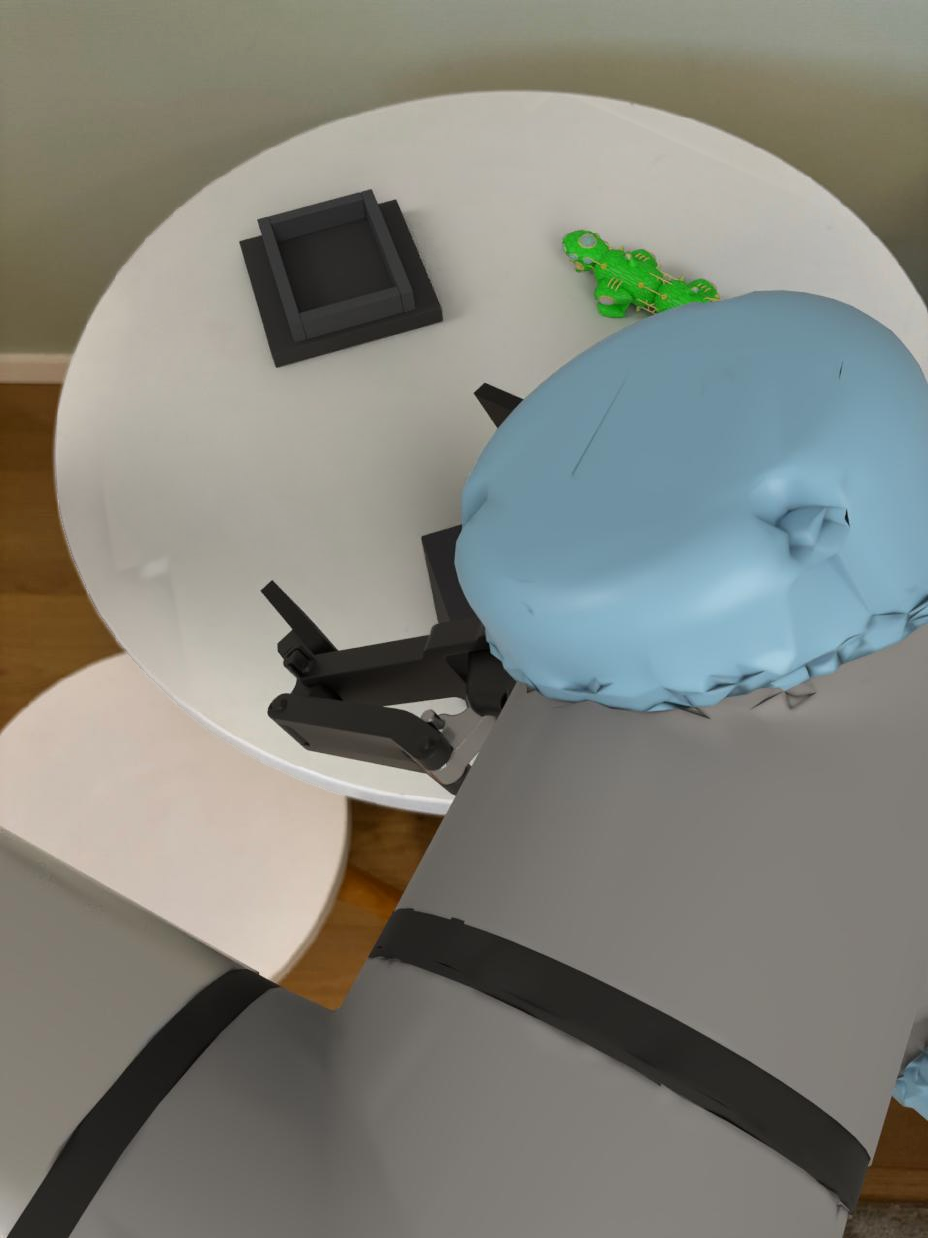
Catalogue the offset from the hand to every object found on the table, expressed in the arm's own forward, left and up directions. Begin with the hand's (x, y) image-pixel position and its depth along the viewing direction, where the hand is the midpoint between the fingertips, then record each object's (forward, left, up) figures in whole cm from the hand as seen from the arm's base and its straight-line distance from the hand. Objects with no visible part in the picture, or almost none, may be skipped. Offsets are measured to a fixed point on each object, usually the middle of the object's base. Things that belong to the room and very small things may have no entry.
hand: (389, 504), depth 49 cm
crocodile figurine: (+9, +36, -21) cm, 43 cm away
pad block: (+4, +3, -21) cm, 22 cm away
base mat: (-17, +35, -21) cm, 44 cm away
